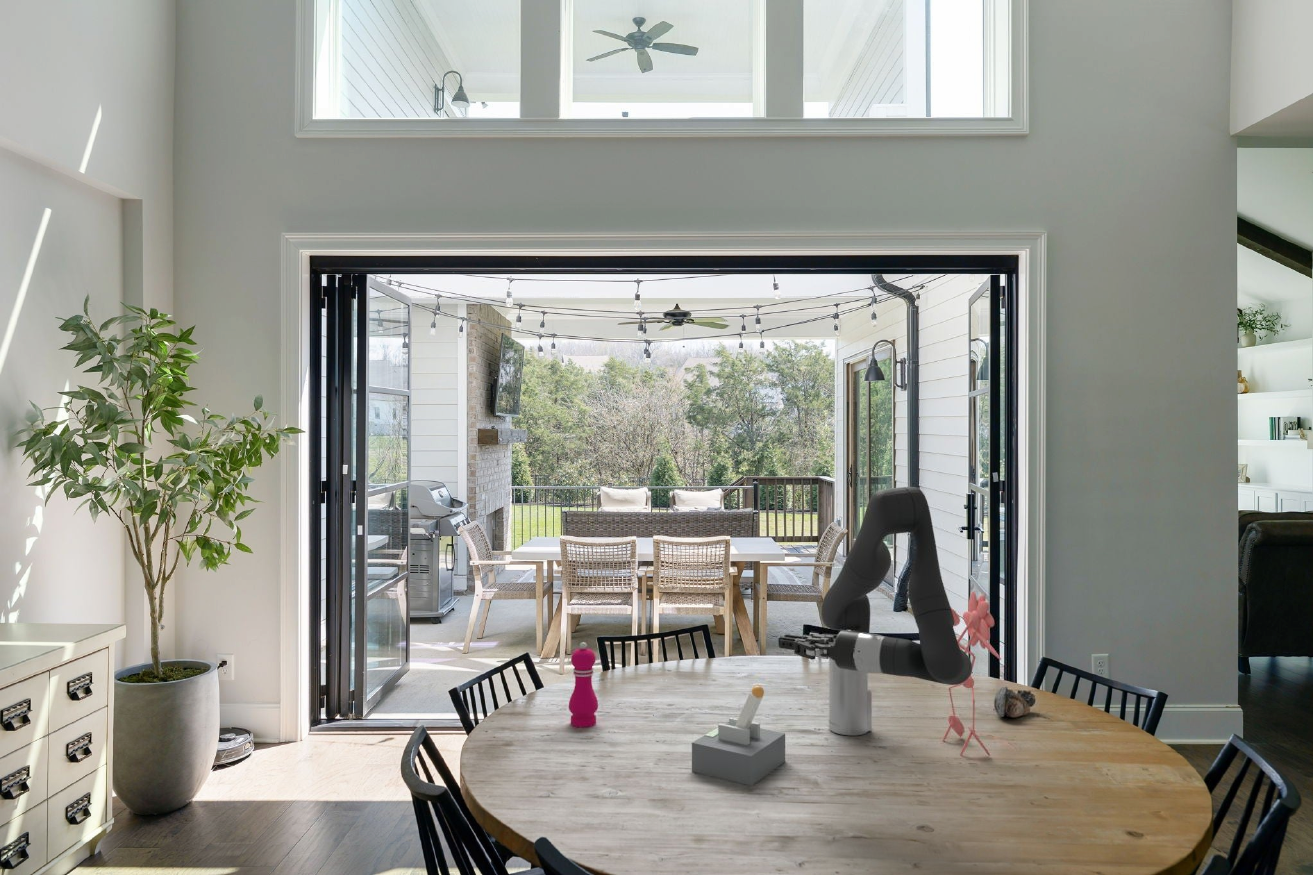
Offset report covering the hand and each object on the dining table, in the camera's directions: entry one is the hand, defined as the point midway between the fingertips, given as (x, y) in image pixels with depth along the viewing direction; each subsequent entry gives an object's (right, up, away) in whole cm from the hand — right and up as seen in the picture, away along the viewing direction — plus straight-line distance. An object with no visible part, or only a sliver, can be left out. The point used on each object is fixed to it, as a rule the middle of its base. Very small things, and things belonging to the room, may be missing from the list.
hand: (782, 640), depth 177 cm
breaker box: (-8, -28, +5) cm, 30 cm away
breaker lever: (-8, -21, +5) cm, 23 cm away
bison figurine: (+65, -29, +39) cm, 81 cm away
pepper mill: (-44, -28, +33) cm, 62 cm away
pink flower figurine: (+47, -28, +17) cm, 58 cm away
